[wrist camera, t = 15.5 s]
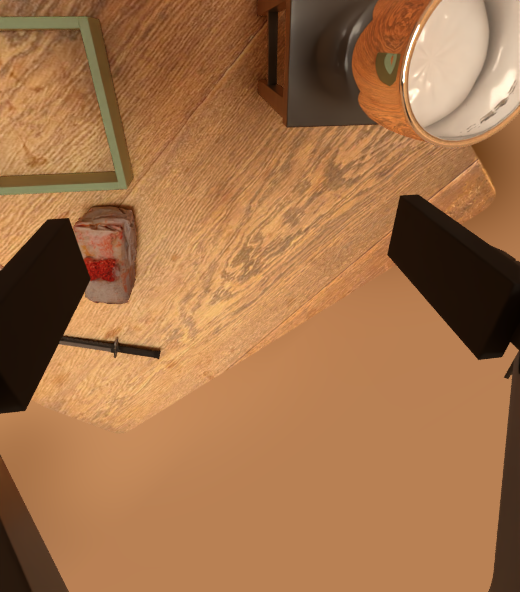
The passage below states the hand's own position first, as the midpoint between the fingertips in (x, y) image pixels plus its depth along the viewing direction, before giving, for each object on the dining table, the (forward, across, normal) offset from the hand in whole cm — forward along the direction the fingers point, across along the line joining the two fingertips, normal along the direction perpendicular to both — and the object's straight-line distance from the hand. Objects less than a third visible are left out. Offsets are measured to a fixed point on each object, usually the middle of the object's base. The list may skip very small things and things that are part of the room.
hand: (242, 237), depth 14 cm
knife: (+40, -27, -40) cm, 63 cm away
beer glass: (+18, +10, +6) cm, 21 cm away
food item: (+40, -18, -19) cm, 48 cm away
